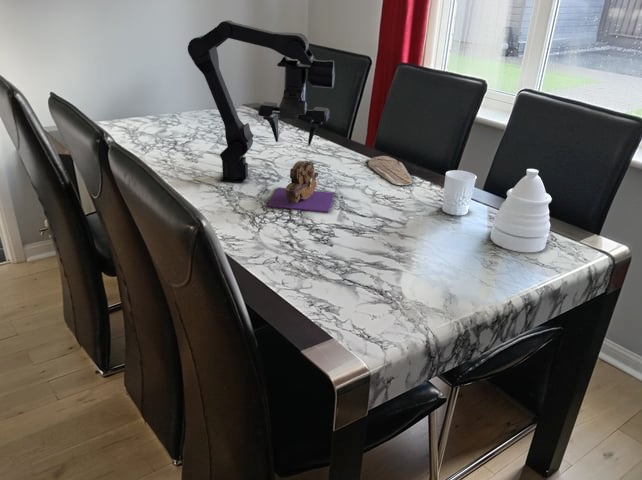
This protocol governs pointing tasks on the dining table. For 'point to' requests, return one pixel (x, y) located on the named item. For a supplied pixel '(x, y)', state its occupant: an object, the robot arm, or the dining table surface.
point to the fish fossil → (390, 170)
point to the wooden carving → (301, 181)
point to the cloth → (303, 201)
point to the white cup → (458, 192)
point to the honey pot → (523, 216)
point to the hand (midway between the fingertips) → (293, 143)
